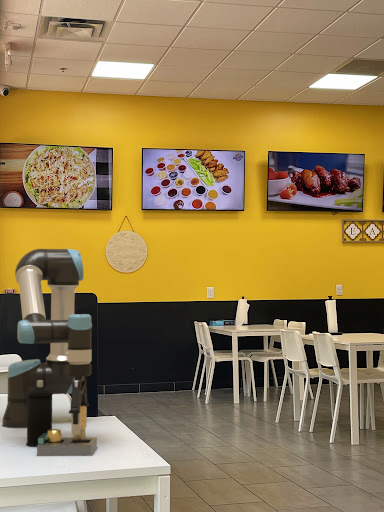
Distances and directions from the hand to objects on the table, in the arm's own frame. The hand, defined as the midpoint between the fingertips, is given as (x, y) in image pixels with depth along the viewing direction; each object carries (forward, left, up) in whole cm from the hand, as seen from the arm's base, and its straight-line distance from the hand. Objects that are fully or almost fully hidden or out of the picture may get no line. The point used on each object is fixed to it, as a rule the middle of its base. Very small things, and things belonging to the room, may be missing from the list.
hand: (79, 431), depth 232 cm
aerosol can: (-1, -13, -4) cm, 14 cm away
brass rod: (0, 0, -4) cm, 4 cm away
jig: (+10, -2, -4) cm, 11 cm away
